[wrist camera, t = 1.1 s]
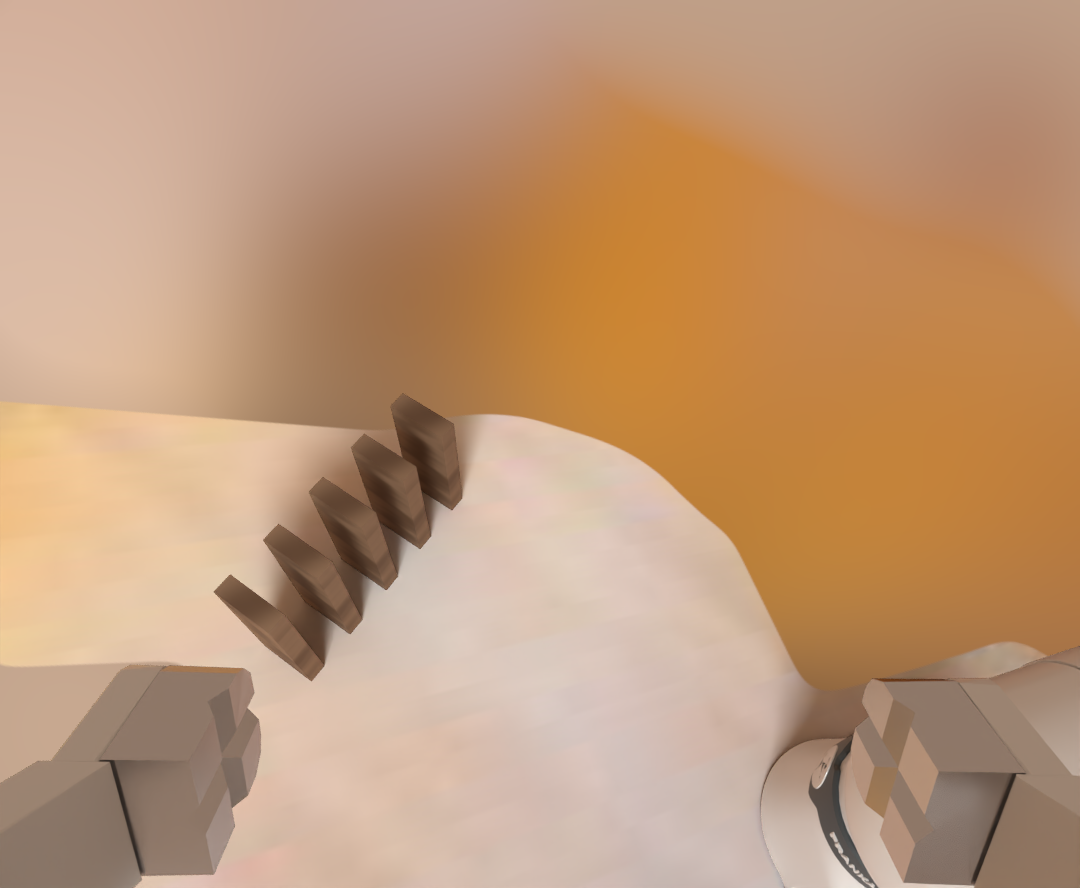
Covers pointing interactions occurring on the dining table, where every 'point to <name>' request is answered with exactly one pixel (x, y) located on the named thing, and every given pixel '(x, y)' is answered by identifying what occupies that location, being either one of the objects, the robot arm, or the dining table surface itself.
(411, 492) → the domino
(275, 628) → the domino
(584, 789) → the dining table surface
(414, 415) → the domino
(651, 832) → the dining table surface
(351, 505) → the domino
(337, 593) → the domino
